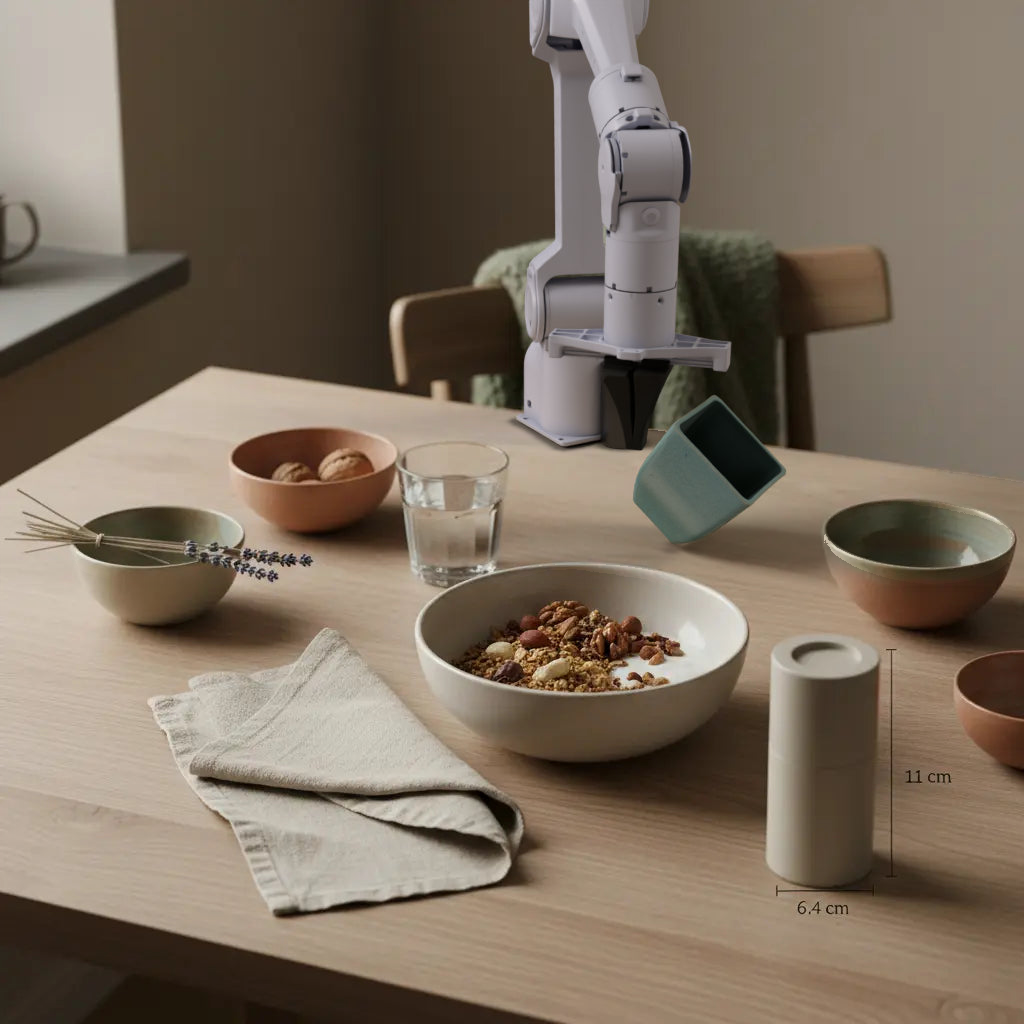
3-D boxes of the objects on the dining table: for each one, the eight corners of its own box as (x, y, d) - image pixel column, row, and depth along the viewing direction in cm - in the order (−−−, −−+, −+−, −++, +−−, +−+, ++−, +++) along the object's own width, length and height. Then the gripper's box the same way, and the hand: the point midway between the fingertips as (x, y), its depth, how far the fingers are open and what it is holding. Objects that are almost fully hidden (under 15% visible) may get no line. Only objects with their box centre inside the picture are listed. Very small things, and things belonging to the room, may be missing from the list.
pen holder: (592, 439, 148) (593, 360, 145) (626, 432, 150) (628, 354, 147) (614, 451, 145) (616, 371, 142) (649, 444, 147) (652, 365, 143)
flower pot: (650, 457, 130) (716, 391, 124) (719, 533, 129) (789, 470, 123) (604, 491, 123) (672, 423, 117) (677, 571, 122) (749, 507, 116)
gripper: (538, 290, 117) (538, 454, 123) (724, 303, 114) (715, 471, 119) (561, 269, 124) (559, 426, 129) (738, 281, 120) (729, 441, 125)
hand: (635, 446), depth 124 cm, fingers closed
